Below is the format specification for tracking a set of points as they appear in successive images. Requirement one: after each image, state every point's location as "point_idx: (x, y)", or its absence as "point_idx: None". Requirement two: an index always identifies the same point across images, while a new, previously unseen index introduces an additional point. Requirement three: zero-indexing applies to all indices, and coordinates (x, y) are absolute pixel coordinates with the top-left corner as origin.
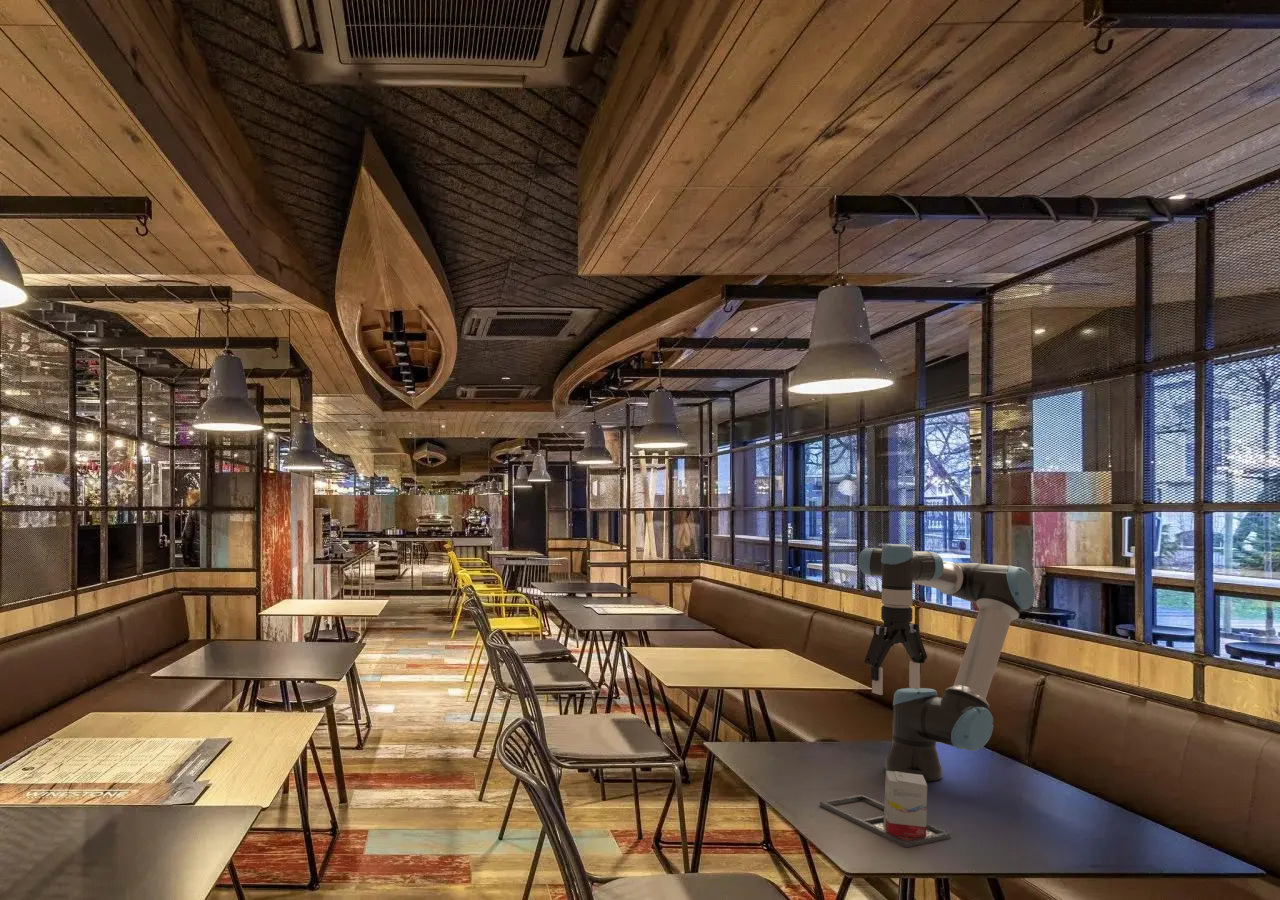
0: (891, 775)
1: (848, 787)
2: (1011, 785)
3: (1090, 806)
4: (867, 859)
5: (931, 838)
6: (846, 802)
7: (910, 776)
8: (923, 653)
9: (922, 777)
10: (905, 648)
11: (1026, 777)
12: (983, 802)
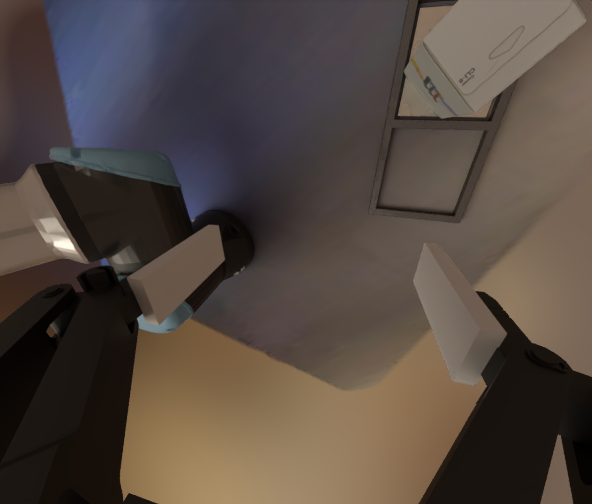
0: (516, 66)
1: (345, 248)
2: None
3: (72, 26)
4: None
5: None
6: (407, 210)
7: (478, 33)
8: (38, 311)
9: (450, 15)
10: (125, 407)
11: None
12: (214, 117)
